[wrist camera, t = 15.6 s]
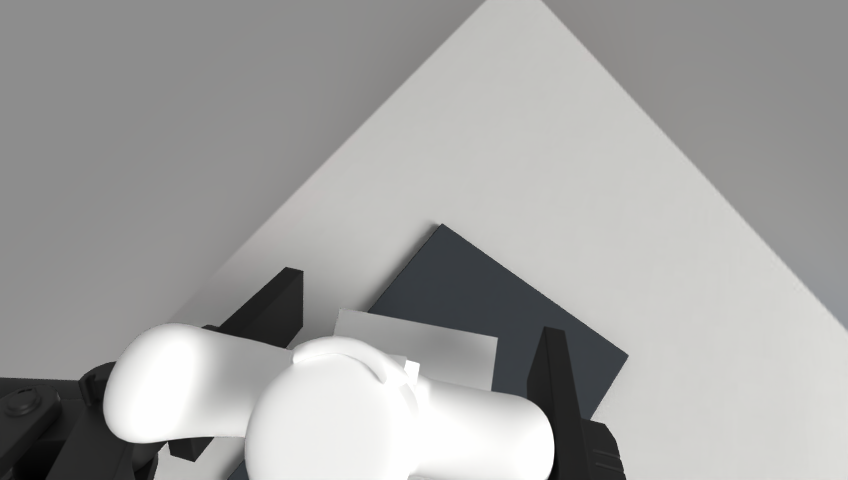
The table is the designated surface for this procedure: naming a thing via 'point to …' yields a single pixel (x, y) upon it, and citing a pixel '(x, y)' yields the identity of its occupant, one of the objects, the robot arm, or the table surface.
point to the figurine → (334, 402)
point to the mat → (494, 317)
